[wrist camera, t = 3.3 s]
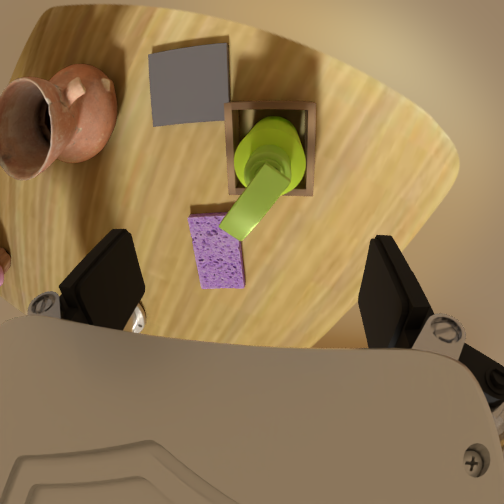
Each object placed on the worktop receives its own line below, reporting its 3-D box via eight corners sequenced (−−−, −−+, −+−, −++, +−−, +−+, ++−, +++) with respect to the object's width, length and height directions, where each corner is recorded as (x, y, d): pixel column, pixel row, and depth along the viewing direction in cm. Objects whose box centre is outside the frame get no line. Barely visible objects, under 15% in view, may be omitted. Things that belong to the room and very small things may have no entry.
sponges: (238, 209, 40) (236, 215, 39) (246, 283, 47) (244, 290, 45) (190, 211, 41) (186, 217, 40) (203, 282, 48) (201, 289, 46)
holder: (309, 183, 37) (312, 196, 32) (235, 181, 38) (228, 194, 33) (311, 101, 31) (315, 103, 27) (231, 101, 32) (223, 103, 28)
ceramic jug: (113, 40, 28) (43, 33, 16) (149, 125, 34) (86, 149, 22) (35, 105, 33) (-30, 125, 21) (65, 177, 39) (6, 214, 27)
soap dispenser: (237, 150, 35) (190, 213, 18) (268, 106, 32) (251, 122, 15) (274, 176, 37) (264, 261, 20) (307, 134, 33) (334, 183, 16)
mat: (230, 119, 33) (229, 120, 32) (156, 125, 34) (153, 126, 33) (228, 43, 28) (226, 42, 27) (151, 55, 29) (148, 54, 28)
